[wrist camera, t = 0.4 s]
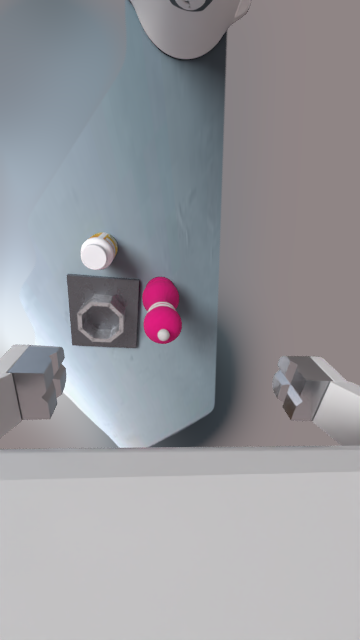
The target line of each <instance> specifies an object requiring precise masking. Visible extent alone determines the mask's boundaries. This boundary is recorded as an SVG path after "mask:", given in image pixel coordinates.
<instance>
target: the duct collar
mask: <svg viewBox="0 0 360 640" xmlns="http://www.w3.org/2000/svg"><path fill="white" fill-rule="evenodd" d="M67 284H68V296H69V309H70V321H71V334H72V345H79V346H103V347H126V348H136V342H137V319H138V297H139V279H127V278H114V277H101V276H89V275H76V274H68V275H67Z"/></svg>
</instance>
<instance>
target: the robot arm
mask: <svg viewBox="0 0 360 640" xmlns="http://www.w3.org/2000/svg"><path fill="white" fill-rule="evenodd" d="M130 1H131V2H132V4H133V6H134V8H135V10H136V12H137V15H138V17H139V20H140V22H141V24H142V26H143V28H144V30H145V32H146V33H147V35H148V36H149V38H150V39H151V40H152V42H153V43H154V44H155V45H156V46H157V47H158V48H159V49H161V50H162V51H163V52H165V53H166V54H168V55H170V56H172V57H175V58H179V59H193V58H197V57H200V56H202V55H204V54H206V53H207V52H209V51H210V50H211V49H212V48H213V47H214V46H215V45H216V44H217V43H218V42H219V41H220V39H221V38H222V36H223V35H224V33H225V32H226V30H227V29H228V28H229V26H230V25H231V24H233V23H234V22H236V21H237V20H239V19H240V18H242V17H243V16H244V15H245V14H246V13H247V12H248V10H249V7H250V4H251V0H130ZM64 358H65V357H64V350H63V348H62V347H53V346H36V345H13V346H12V347H11V348H10V349H9V350H8V351H7V352H6V353H5V354H4V356H3V357H2V358H1V359H0V438H1V437H2V436H4V435H5V434H6V433H8V432H9V431H10V430H11V429H13V428H14V427H15V426H16V425H18V424H19V423H20V422H21V421H22V420H33V419H50V418H51V416H52V414H53V412H54V410H55V408H56V405H57V397H59V396H60V395H61V394H62V392H63V390H64V387H65V382H66V368H65V367H64V366H63V365H62V364H61V363H62V362H63V360H64ZM278 367H279V369H280V370H279V371H278V372H277V373H275V375H274V378H273V390H274V393H275V395H276V397H277V398H278V399H279V400H281V401H282V402H284V403H283V408H284V410H285V412H286V413H287V415H288V417H289V418H290V420H296V421H313V423H314V424H316V425H317V426H318V427H319V428H321V429H322V430H323V431H324V432H325V433H327V434H328V435H329V436H330V437H332V438H333V439H334V440H336V441H337V442H338V443H339V444H340V445H342V446H263V447H262V446H259V447H168V448H167V447H163V448H53V449H0V640H360V386H359V385H357V384H355V383H353V382H347V381H346V380H345V379H344V378H343V377H342V376H341V375H340V374H339V373H338V372H337V371H336V370H335V369H334V368H333V367H332V366H330V364H328V363H327V362H326V361H325V360H324V359H323V358H321V357H319V356H282V357H281V358H280V359H279V362H278Z"/></svg>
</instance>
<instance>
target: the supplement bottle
mask: <svg viewBox="0 0 360 640" xmlns="http://www.w3.org/2000/svg"><path fill="white" fill-rule="evenodd" d="M117 251H118V246H117V242H116V240H115V239H114V238H113V237H112V236H111V235H110V234H108V233H104V232H100V233H97V234H95V235H93V236H92V237H90V238H89V239H88V240H86V241H85V242H84V243H83V245H82V247H81V259H82V262H83V263H84V265H85V266H86V267H88V268H90V269H93V270H101V269H105V268H107V267H108V266H109V265H110V264H111V263H112V261H113V259H114V257H115V256H116V254H117Z"/></svg>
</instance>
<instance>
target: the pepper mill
mask: <svg viewBox="0 0 360 640" xmlns="http://www.w3.org/2000/svg"><path fill="white" fill-rule="evenodd" d="M142 299H143V305H144V307H145V309H146V310H147V311H148V313H147V315H146V316H145V319H144V330H145V333H146V335H147V336H148V337H149V338H150V339H151V340H152V341H154V342H156V343H160V344H166V343H169V342H172V341H173V340H175V339H176V338H177V337H178V335H179V334H180V332H181V328H182V322H181V318H180V316H179V314H178V313H177V312H176V308H177V306H178V303H179V294H178V291H177V289H176V287H175V286H174V285H173V283H172V282H171V281H170V280H169V279H167V278H165V277H156V278H153V279H152V280H150V281H149V282H148V284H147V286H146V288H145V290H144V292H143V296H142Z"/></svg>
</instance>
